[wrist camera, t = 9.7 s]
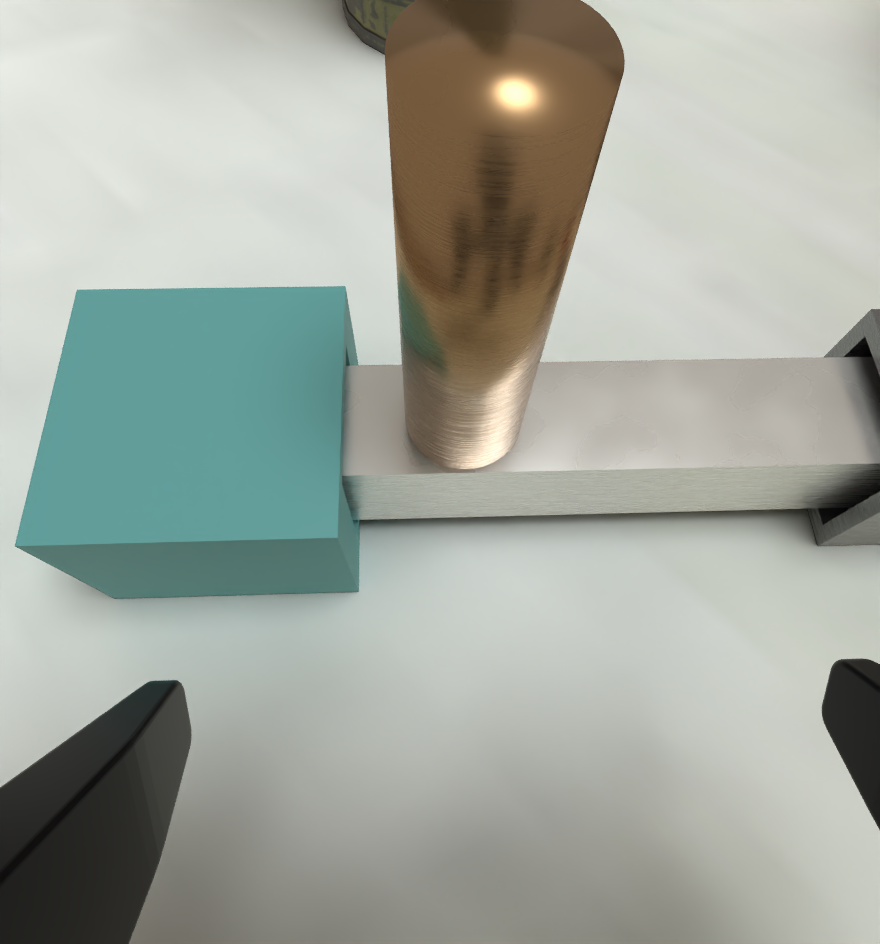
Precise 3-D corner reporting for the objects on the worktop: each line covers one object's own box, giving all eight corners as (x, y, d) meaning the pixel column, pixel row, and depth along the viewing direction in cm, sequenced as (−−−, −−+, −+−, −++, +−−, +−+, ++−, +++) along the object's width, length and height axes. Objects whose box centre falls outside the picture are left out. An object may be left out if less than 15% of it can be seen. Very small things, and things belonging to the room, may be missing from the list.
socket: (362, 386, 22) (345, 286, 17) (358, 591, 19) (337, 537, 14) (150, 389, 22) (76, 289, 17) (115, 598, 19) (14, 546, 14)
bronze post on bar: (919, 411, 21) (1534, -24, 9) (956, 506, 19) (1730, 136, 8) (229, 424, 20) (-34, -31, 9) (218, 525, 19) (-111, 147, 7)
